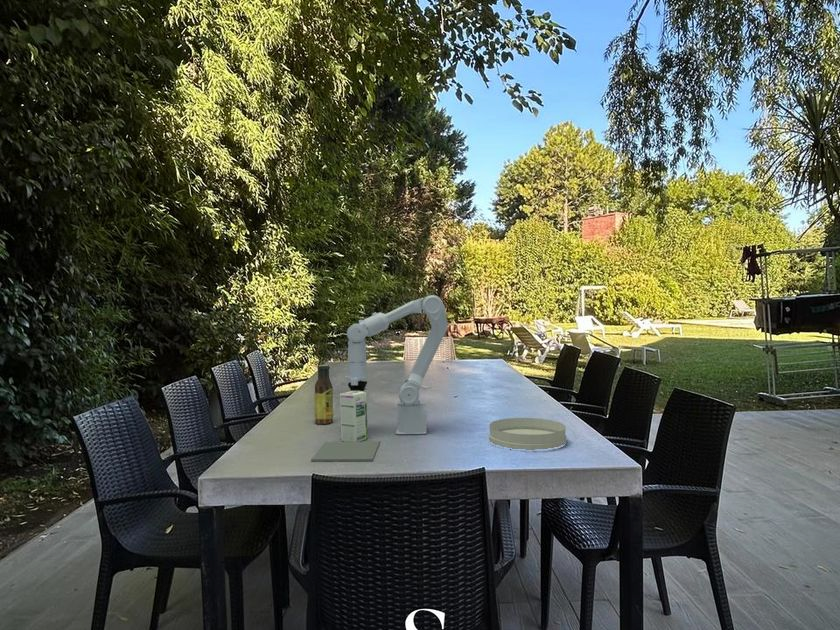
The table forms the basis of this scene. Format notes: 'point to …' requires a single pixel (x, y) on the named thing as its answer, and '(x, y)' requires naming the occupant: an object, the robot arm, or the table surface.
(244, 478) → the table surface
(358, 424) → the syrup box
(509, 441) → the dish
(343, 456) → the mat
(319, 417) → the sauce bottle
